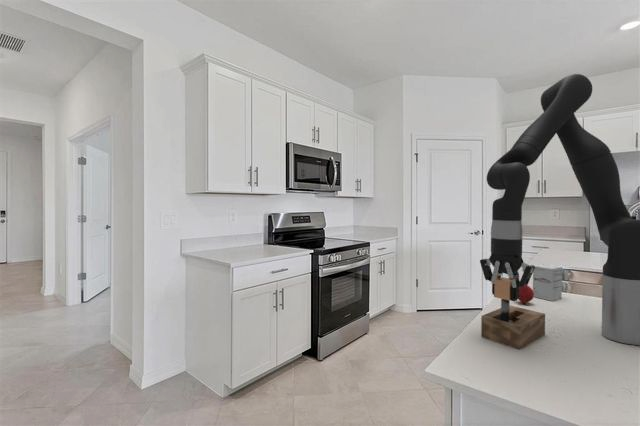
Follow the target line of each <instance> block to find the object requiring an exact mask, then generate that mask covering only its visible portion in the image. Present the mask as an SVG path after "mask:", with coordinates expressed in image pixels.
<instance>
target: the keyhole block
mask: <svg viewBox="0 0 640 426" xmlns="http://www.w3.org/2000/svg"><path fill="white" fill-rule="evenodd" d="M498 318H501V307H500V308H498V309H495V310H492V311H490V312H488V313H485V314H483V315H481V318H480V319H481V320H480V321H481V325H480V328H481V329H480V331H481V332H480V333H481V335H480V336H481V337H480V338H483V339H487V340H490V341H492V342H495V343H498V344H502V345H503V346H508V347H509V348H513V349H516V350H521V349H523V348H525V347H527V346H528V345H530V344H532V343H533V342H535V341H536V340H538V339H540V338H542V337H543V336H545V335H546V313H544V312H538V311H535V310H532V309H527V308H522V307H519V306H514V305H511V304H509V320H512V321H513V323H509V322H505V321H502V320H498Z"/></svg>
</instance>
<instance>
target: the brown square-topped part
mask: <svg viewBox="0 0 640 426" xmlns="http://www.w3.org/2000/svg"><path fill="white" fill-rule="evenodd" d="M511 288H512V285H511V281H510V279H509V277H503V276H501V278H497V279H495V290H494V295H493V298H497V299H500V308H501V318H498V320H502V321H505V322H509V323H513V321H512V320H509V305H511V303H510V302H511Z"/></svg>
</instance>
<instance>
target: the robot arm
mask: <svg viewBox="0 0 640 426" xmlns="http://www.w3.org/2000/svg"><path fill="white" fill-rule="evenodd" d="M592 93H593V84H592V82H591V81H590V79H589V78H588V77H587V76H585V75H584V74H580V73H573V74H570V75H567V76H565V77H563V78H561V79H560V80H558V81H556V83H553V85H551V86H550V87H548V88H547V89H546V90H544V91H543V92H542V94H541V96H540V106H541V109H542V110H543V113H541V114H540V115H539V117H537V118H536V119H535V120H534V121H533V122H532V123H531V124H530V125H529V126H528V127H527V128H526V129H525V130H524V131H523V132H522V133H521V135H520V136H519V137H518V139H517V140H516V141H515V143H514V144H513V145H512V147H511V148H510V150H508V151H507V152H505V154H503V155H502V156H501V157H500V158H498V159H497V160H496V161H495V162H494V163H493V164H492V165H491V167H489V169H488V171H487V174H486V183H487V185H488V186H489V187H490V188H491V189H493V190H498V191H499V190H501V191H503V190H504V193H503V195H502V197H500V198H496V199H494V201H493V202H492V209H491V212H492V213H491V215H492V216H491V218H492V219H491V227H490V256H489V258H483V259H482V258H481V259H479V264H480V266H481V269H482V272H483V276H484V279H485V281H489V282H491V294H492V295H493V296H494V290H495V279H497V278H501V277H503V274H505V275H507V276H508V277H507V278H509V279H510V281H511V285H512V288H511V300H510V302H517V301H518V300H519V297H520V287H523V286H526V285H528V286H529V283H530V280H531V278H532V277H533V271H534V269H535V267H534V265H533V264H528V263H526V262H524V260H523V257H522V256H523V222H522V218H523V217H522V216H523V215H522V214H523V211H522V210H523V203H524V200H525V198H526V194H527V191H528V188H529V186H530V185H529V184H530V181H531V174H530V170H529V168H528V167H529V166H532V165H533V164H535V162H536V161H537V160H538V159H539V157H540V156H541V155H542V153H543V151H544V150H545V149H546V148H547V146H548V145H549V143H550V142H551V141H552V139H553V138H554V137H555V135H557V137H558V139H559V141H560V143H561V145H562V147H563V149H564V152H565V154H566V156H567V158H568V161H569V163H570V166H571V169H572V171H573V173H574V175H575V178H576V179H577V182H578V183H579V187H580V188H581V190H582V192H583V194H584V196H585V198H586V200H587V202H588V203H589V206H590V209H591V211H592V213H593V216H594V219H595V224H596V226H597V227H596V228H597V230H598V235H599V238H600V240H601V242H603V243H604V244H605V245H606V246H607V258H606V262H605V263H604V264H603V265H602V284H601V285H602V286H601V287H602V289H601V290H602V294H601V295H602V296H601V300H602V301H601V325H600V326H601V335H602V337H604V338H606V339H608V340H612V341H614V342H617V343H622V344H626V345H627V344H628V345H634V346H640V220H639V219H637V218H636V219H635V218H633V217H632V216H631V214H630V212H629V211H628V208H627V207H626V205H625V203H624V201H623V198H622V192H621V179H620V173H619V168H618V165H617V163H616V159H615V158H614V156H613V153H612V151H611V149H610V148H609V146H608V145H607V144H606V143H605V142H604V141H602V140H601V139H599V138H598V137H597V136H595V135H593V134H592V133H590V132H589V131H587V130H586V129H585V128H584V127H582V125H581V124H580V122H579V120H578V119H577V117H576V114H575V113H576V112H577V111H578V110H579V109H580V108H581V107H582V106H584V105H585V104H586V103H587V102H588V100H589V99H590V98H591V96H592ZM491 265H492V267H493V271H492V268H491ZM521 268H522V272H523V273H522V276H521V278H520V273H519V270H520V269H521Z"/></svg>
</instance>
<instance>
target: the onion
mask: <svg viewBox="0 0 640 426" xmlns="http://www.w3.org/2000/svg"><path fill="white" fill-rule="evenodd" d="M534 298H535V297H534V293H533V288H531V287H530V286H529V284H528V285H526V286H523V287H520V297H519V299H518V301H519V302H521V303H522V304H524V305H525V304H528V303H529V302H531V301H532V300H533V299H534Z"/></svg>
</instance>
